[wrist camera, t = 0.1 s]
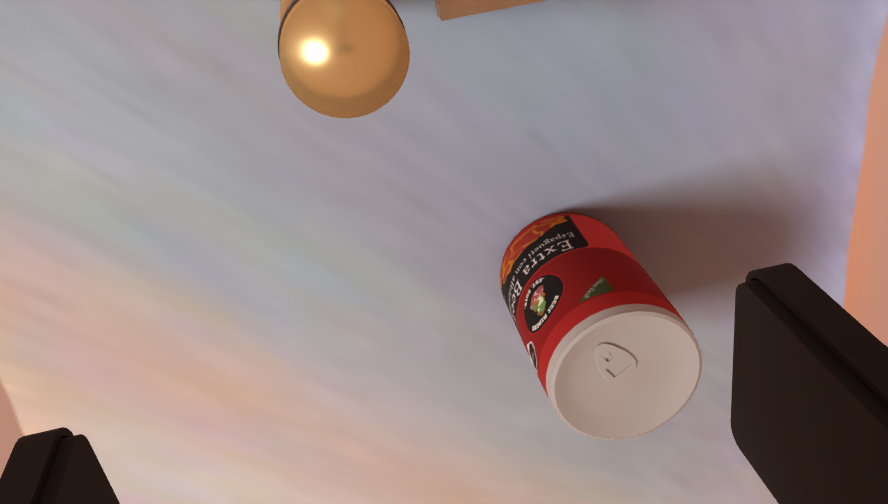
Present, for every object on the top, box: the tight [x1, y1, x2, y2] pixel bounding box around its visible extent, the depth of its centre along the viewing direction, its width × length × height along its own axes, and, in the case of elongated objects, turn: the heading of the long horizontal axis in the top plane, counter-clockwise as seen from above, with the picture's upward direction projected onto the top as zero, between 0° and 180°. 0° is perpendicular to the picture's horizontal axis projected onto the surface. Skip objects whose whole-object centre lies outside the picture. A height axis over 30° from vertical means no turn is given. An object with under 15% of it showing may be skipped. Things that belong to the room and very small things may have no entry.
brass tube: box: [278, 0, 410, 118], centre depth 31 cm, size 4×4×15 cm
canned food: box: [500, 213, 702, 440], centre depth 43 cm, size 8×8×11 cm
